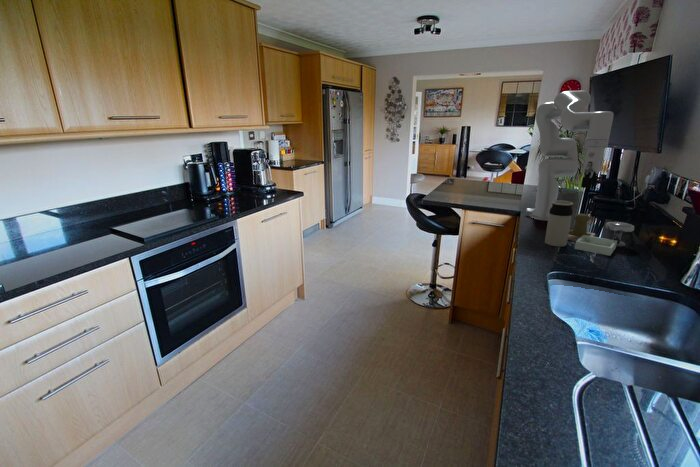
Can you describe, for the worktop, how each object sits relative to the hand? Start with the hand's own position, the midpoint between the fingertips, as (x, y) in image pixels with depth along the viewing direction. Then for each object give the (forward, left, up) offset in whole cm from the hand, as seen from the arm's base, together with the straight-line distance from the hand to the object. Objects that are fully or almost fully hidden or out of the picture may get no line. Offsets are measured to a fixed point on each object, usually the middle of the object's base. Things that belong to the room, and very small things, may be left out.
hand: (588, 186), depth 137 cm
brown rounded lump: (0, 0, -23) cm, 23 cm away
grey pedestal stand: (+13, +1, -23) cm, 26 cm away
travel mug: (-5, -14, -23) cm, 28 cm away
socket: (0, 0, -23) cm, 23 cm away
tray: (+8, -10, -23) cm, 26 cm away
